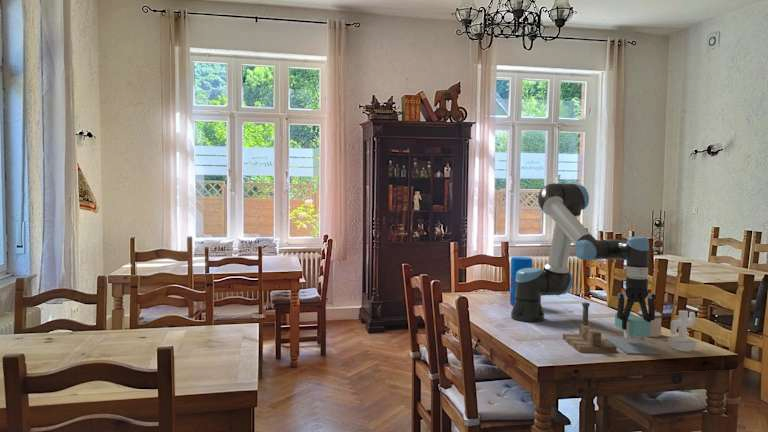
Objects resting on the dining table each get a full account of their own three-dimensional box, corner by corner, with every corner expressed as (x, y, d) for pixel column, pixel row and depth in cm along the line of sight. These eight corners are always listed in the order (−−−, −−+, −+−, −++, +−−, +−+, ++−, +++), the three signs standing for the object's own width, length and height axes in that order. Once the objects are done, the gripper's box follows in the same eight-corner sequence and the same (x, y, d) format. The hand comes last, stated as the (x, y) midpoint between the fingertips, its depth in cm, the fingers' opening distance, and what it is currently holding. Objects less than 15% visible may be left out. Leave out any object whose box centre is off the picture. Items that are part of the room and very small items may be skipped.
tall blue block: (533, 305, 281) (535, 257, 280) (527, 308, 272) (528, 259, 271) (513, 302, 287) (514, 256, 286) (506, 305, 278) (508, 258, 277)
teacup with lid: (666, 337, 220) (667, 309, 220) (645, 337, 219) (646, 309, 219) (648, 329, 232) (649, 303, 232) (628, 330, 231) (629, 303, 231)
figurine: (664, 347, 205) (665, 308, 205) (685, 346, 207) (687, 308, 206) (677, 353, 198) (679, 313, 198) (699, 352, 200) (701, 312, 199)
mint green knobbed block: (614, 325, 214) (615, 312, 213) (629, 325, 213) (630, 313, 213) (633, 335, 197) (634, 322, 197) (649, 336, 197) (650, 322, 197)
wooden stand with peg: (562, 338, 216) (563, 300, 215) (597, 339, 216) (598, 300, 215) (578, 351, 198) (580, 310, 197) (616, 352, 198) (617, 310, 197)
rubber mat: (604, 339, 216) (604, 337, 216) (634, 339, 216) (634, 338, 216) (627, 354, 196) (627, 352, 196) (659, 354, 196) (659, 353, 196)
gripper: (616, 278, 198) (614, 340, 199) (667, 279, 198) (665, 341, 199) (607, 275, 205) (606, 335, 206) (657, 276, 205) (655, 335, 206)
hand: (635, 338), depth 202 cm, fingers closed on mint green knobbed block, 6 cm apart
